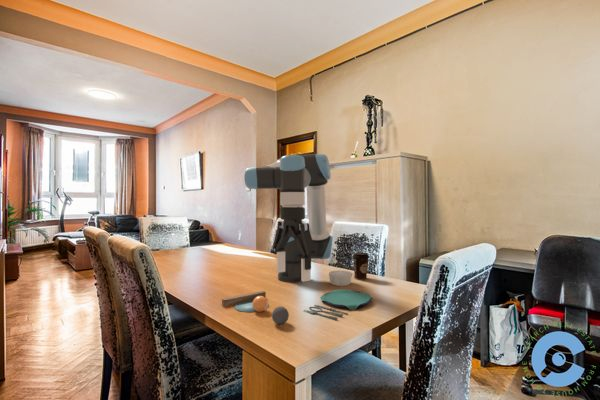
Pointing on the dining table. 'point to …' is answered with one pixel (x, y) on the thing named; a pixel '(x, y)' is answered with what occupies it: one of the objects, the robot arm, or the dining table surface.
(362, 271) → the coffee cup
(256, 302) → the orange ball
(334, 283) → the ramekin
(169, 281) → the dining table surface
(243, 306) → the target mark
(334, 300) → the cutlery set
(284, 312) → the gray ball
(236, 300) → the stopper strip
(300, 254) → the robot arm
